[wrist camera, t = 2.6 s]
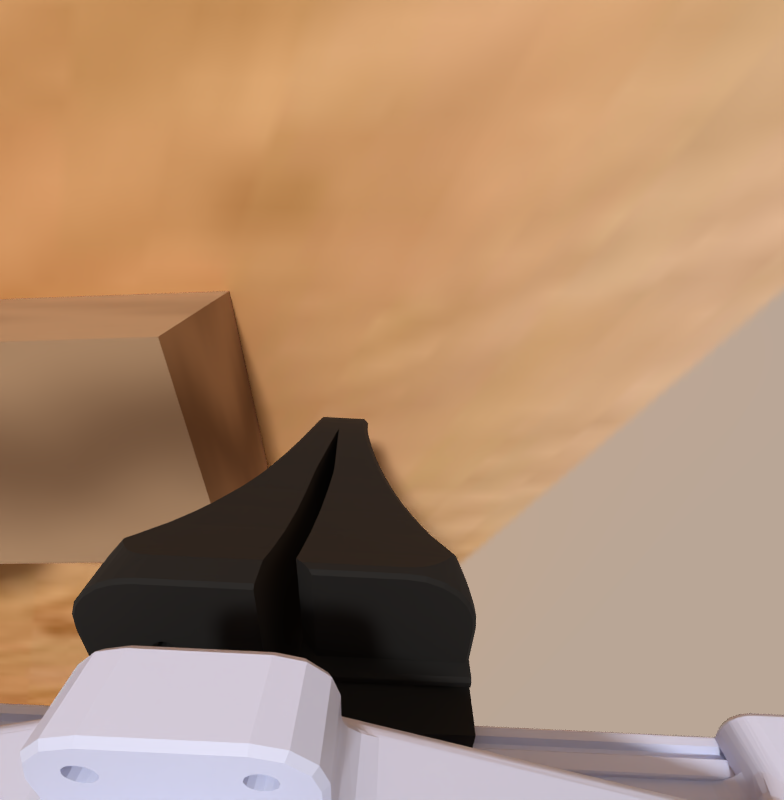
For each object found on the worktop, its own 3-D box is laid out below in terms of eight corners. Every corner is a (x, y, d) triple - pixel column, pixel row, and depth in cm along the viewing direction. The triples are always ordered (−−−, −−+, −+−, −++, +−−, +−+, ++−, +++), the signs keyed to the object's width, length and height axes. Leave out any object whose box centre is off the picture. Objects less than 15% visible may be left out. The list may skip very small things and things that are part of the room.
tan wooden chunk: (270, 468, 16) (228, 560, 12) (37, 473, 17) (-77, 564, 13) (232, 289, 13) (158, 336, 9) (-58, 299, 13) (-251, 349, 9)
